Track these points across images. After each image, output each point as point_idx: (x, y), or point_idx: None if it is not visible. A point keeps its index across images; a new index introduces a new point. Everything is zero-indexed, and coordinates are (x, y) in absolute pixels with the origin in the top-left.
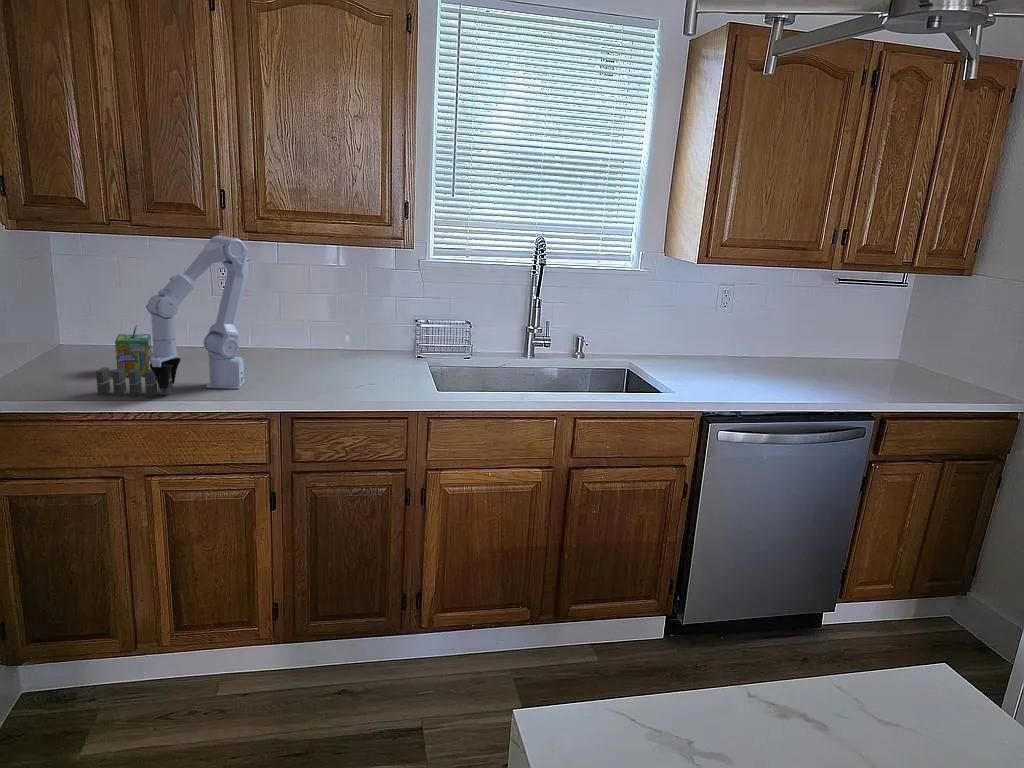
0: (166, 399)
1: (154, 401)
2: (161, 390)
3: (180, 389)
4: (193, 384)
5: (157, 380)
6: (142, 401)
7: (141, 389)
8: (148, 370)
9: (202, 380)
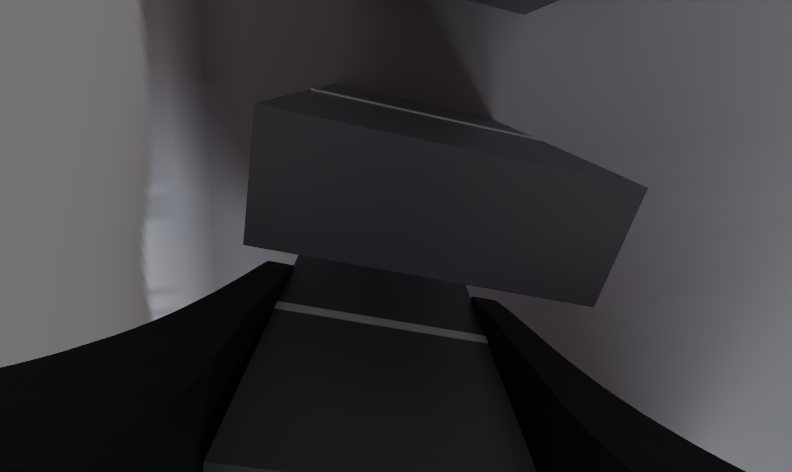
0: (246, 272)
1: (175, 184)
2: (296, 260)
3: (552, 338)
4: (678, 405)
5: (209, 300)
6: (165, 69)
7: (526, 5)
8: (488, 171)
9: (773, 445)
